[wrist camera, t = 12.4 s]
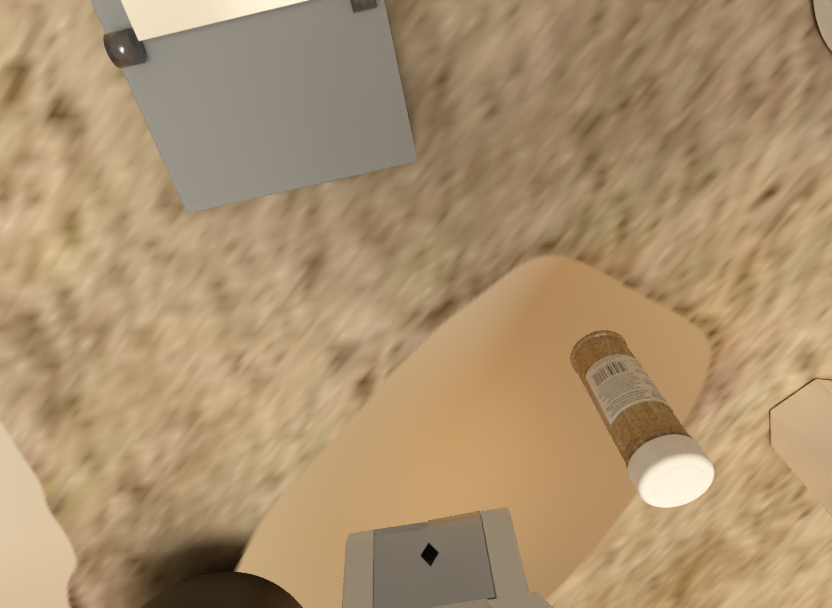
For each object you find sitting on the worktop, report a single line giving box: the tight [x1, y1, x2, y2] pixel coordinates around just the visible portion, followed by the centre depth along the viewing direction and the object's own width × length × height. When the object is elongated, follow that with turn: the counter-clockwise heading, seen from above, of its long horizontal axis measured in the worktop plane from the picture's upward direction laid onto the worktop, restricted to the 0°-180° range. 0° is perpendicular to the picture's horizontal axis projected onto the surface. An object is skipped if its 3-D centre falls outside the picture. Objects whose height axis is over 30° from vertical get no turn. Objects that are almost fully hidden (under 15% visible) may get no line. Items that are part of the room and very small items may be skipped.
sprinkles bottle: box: [571, 331, 714, 508], centre depth 38 cm, size 5×5×14 cm
